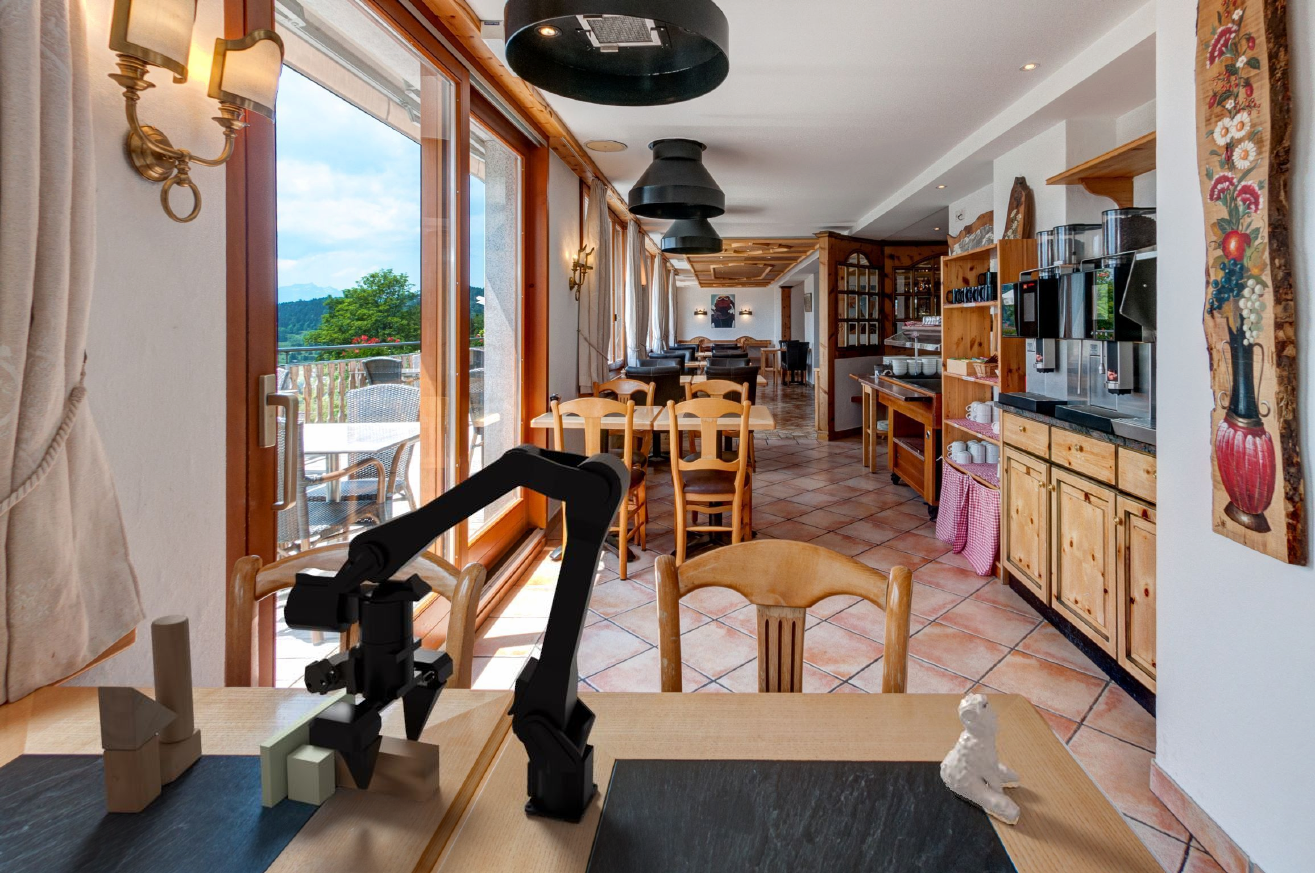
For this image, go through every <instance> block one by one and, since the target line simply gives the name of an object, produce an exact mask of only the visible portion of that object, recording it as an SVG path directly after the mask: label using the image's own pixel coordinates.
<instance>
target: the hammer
mask: <svg viewBox="0 0 1315 873" xmlns="http://www.w3.org/2000/svg"><path fill="white" fill-rule="evenodd" d="M315 747H319V746H315ZM320 748H324V747H320ZM325 749H330V748H325ZM330 750H334V770H335V787H339V786H341V787H346V788H352V789H355V790H359V789H358V788H357V786H356V784H355V782H354V780H353V778H352V776H351V773H350V771H349V769H348V767H347V765H346V763H345V761H344V759H343V758H342V756H341V755H340V753H339V752H338V751H337V750H335V749H330ZM439 788H440V745H439V744H433V743H428V742H422V741H419V740H418V741H412V740H407V738H406V739H405V738H400V737H394V736H388V735H383V738H382V742H381V746H380V749H379V753H378V757H377V760H376V764H375V768H374V772H373V775H372V779H371V782H370V785H369V787H368V789H367V790H365V791H367V792H373V793H378V794H383V795H387V796H393V797H397V798H403V799H408V800H413V801H418V802H424V803H426V802H427V801H428V800H429V799H430V797H431V796H432V795H433V794H434V793H435V791H436V790H437V789H439Z"/></svg>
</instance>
